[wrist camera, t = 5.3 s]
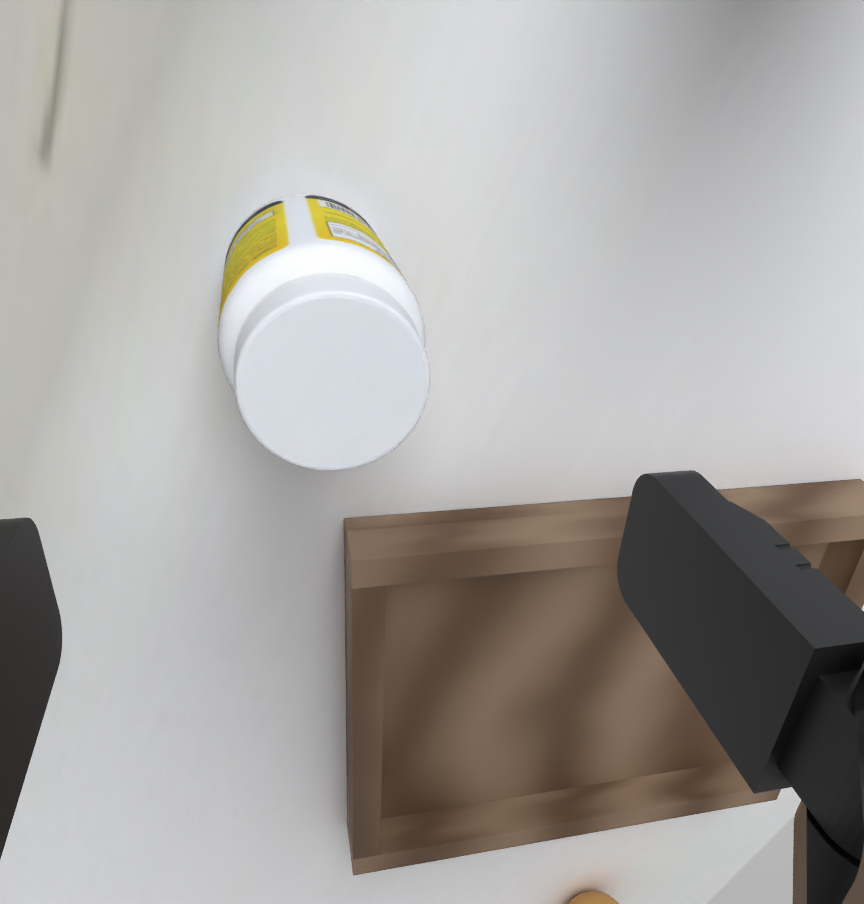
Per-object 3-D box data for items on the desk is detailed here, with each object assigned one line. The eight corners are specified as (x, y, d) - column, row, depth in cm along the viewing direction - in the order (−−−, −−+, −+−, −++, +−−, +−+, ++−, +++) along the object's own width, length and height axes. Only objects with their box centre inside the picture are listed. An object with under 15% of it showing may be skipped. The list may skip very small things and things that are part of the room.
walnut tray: (860, 478, 31) (904, 511, 29) (748, 758, 40) (776, 799, 37) (343, 518, 26) (351, 560, 24) (347, 824, 35) (353, 875, 33)
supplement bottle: (242, 357, 22) (236, 504, 15) (209, 201, 20) (182, 289, 13) (393, 336, 23) (454, 467, 16) (378, 182, 21) (442, 257, 14)
